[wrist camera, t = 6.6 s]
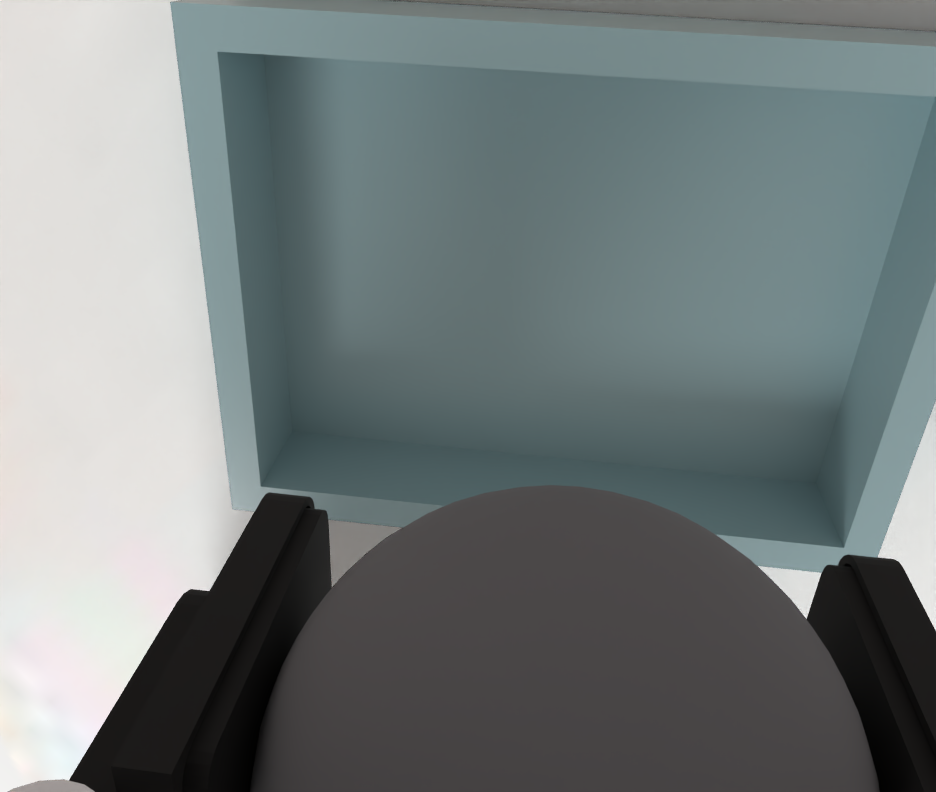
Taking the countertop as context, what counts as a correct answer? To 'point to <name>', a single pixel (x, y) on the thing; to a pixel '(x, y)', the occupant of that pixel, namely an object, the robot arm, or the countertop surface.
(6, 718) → the countertop surface
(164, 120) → the countertop surface
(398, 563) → the ball
